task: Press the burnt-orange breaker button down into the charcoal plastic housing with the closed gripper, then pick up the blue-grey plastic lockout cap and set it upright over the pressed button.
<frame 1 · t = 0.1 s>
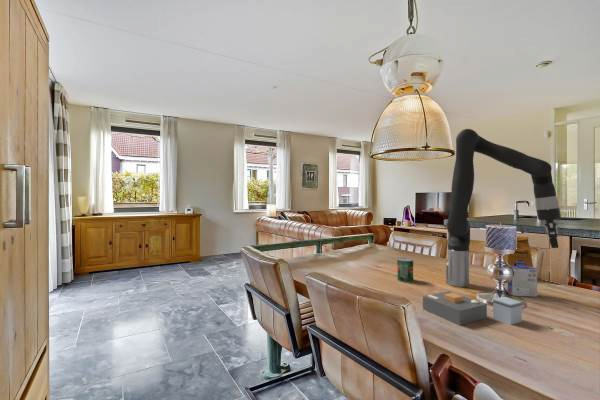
hand: (554, 246, 124), 22 cm above the table, tool pointing down, fingers open, 8 cm apart
canned tomato: (405, 280, 155), on the table
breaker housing: (453, 313, 111), on the table
coffee package: (517, 278, 157), on the table
lockout cap: (507, 320, 105), on the table
breaker button: (453, 301, 111), point 4 cm above the table, slide at 0.0 cm
ink cartridge box: (521, 294, 131), on the table
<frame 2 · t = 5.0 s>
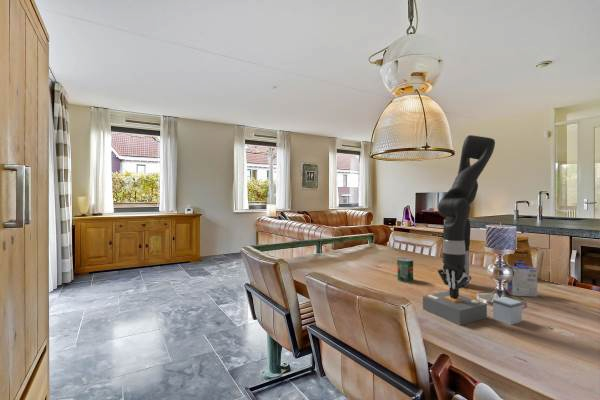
hand: (454, 297, 111), 6 cm above the table, tool pointing down, fingers closed
breaker button: (453, 304, 111), point 3 cm above the table, slide at 0.9 cm, touching gripper
everything else where it was.
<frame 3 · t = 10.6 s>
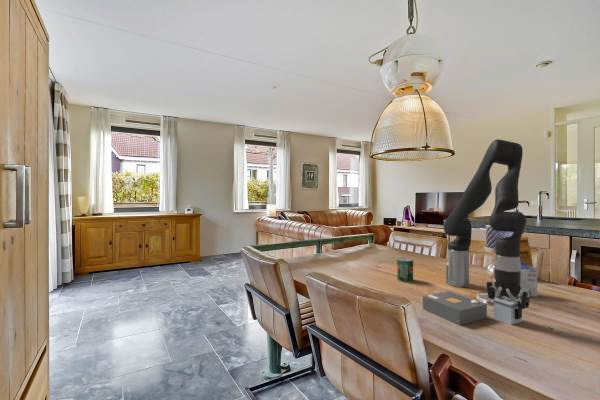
hand: (507, 315, 105), 2 cm above the table, tool pointing down, fingers closed on lockout cap, 6 cm apart
lockout cap: (507, 319, 105), on the table, touching gripper
breaker button: (453, 306, 111), point 3 cm above the table, slide at 1.9 cm
everything else where it was.
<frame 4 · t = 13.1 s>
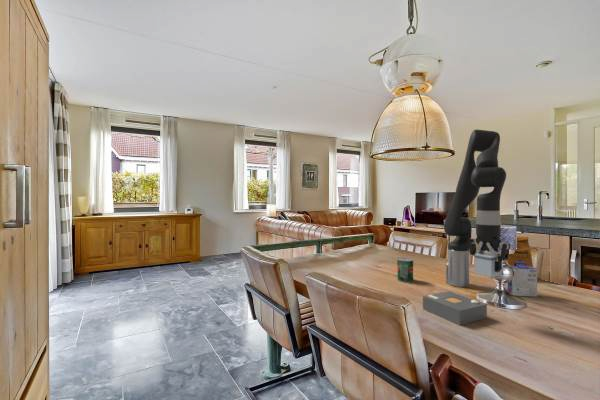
hand: (487, 269, 107), 17 cm above the table, tool pointing down, fingers closed on lockout cap, 6 cm apart
lockout cap: (488, 274, 107), point 16 cm above the table, touching gripper
everything else where it was.
when the fingers open (8 cm above the table, at t = 16.1 s): lockout cap drops 1 cm, resting on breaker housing.
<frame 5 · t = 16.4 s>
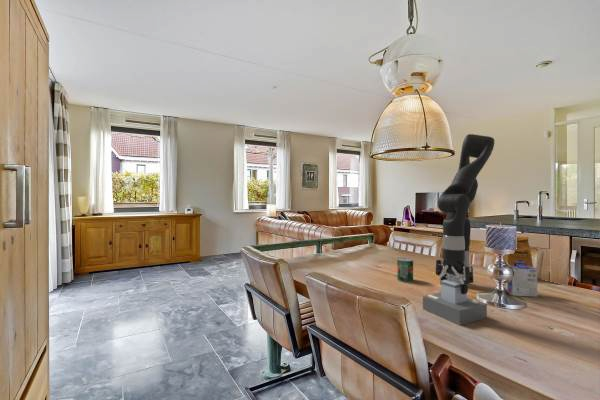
hand: (453, 290, 111), 9 cm above the table, tool pointing down, fingers open, 8 cm apart
lockout cap: (453, 300, 111), point 5 cm above the table, touching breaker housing
everything else where it was.
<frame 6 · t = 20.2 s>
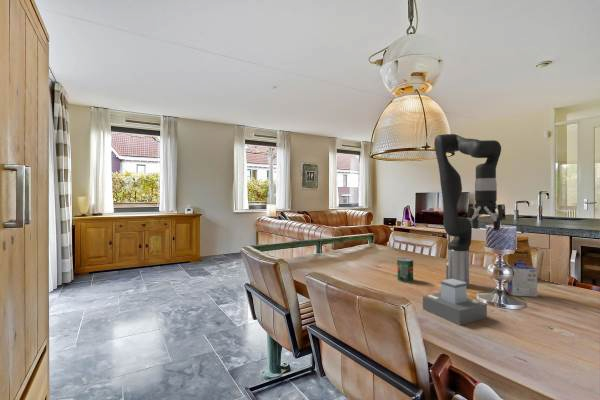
hand: (485, 229, 121), 30 cm above the table, tool pointing down, fingers open, 8 cm apart
nothing on the table moved.
at the end: breaker button slide at 1.9 cm; lockout cap 0.1 cm off-centre on the breaker button, point 6.9 cm above the breaker button's base; lockout cap tilted 0° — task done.
